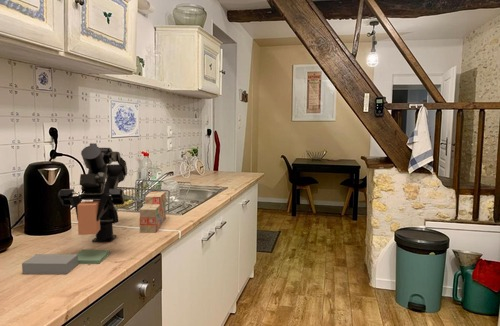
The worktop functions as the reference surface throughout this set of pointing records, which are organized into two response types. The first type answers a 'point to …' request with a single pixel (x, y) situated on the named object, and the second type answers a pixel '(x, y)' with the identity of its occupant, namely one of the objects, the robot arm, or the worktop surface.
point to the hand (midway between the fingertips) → (87, 220)
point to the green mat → (92, 256)
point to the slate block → (50, 264)
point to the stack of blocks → (153, 212)
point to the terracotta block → (88, 218)
